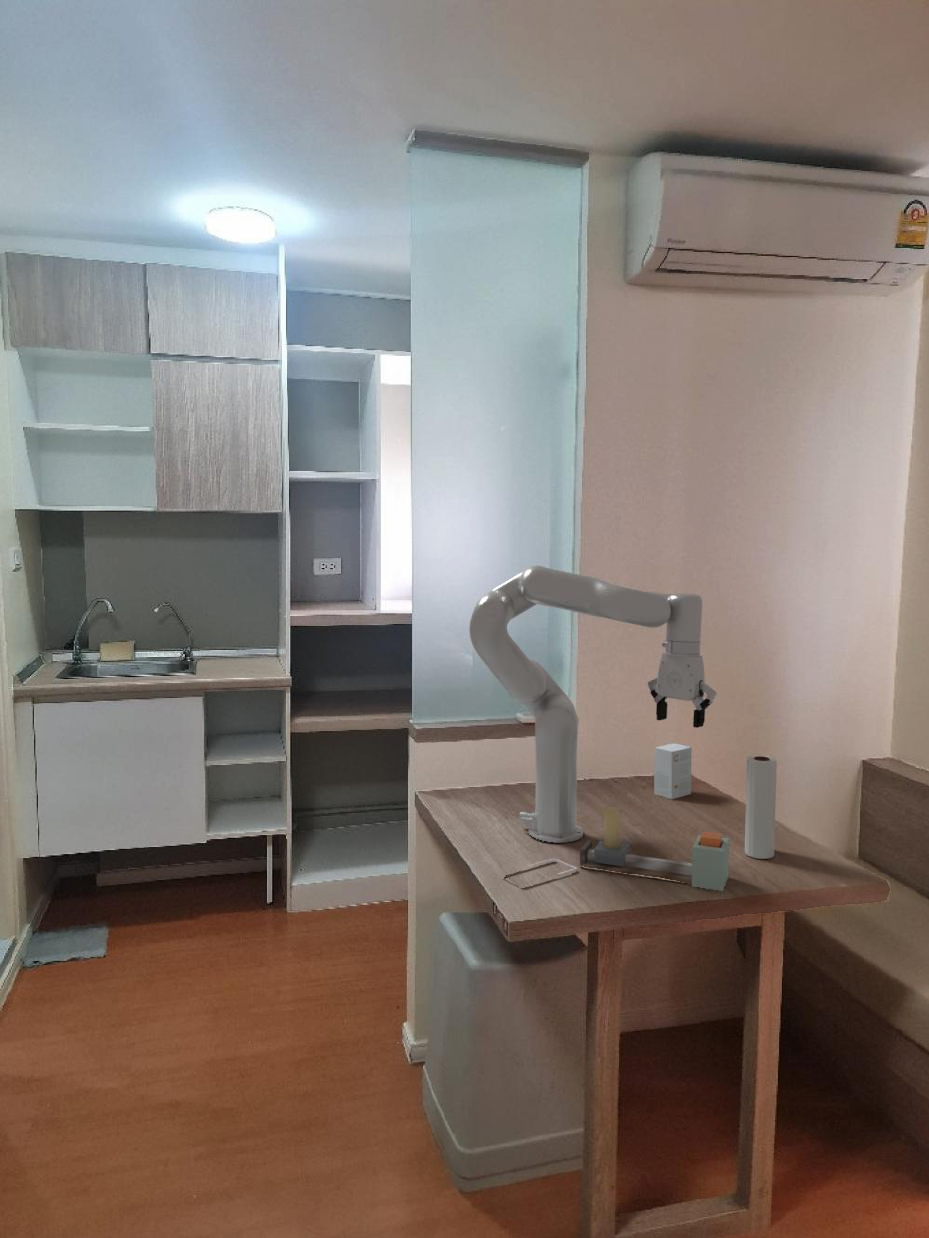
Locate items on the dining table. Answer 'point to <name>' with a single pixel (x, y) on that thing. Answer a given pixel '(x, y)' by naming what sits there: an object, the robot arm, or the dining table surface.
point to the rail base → (640, 865)
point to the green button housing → (710, 865)
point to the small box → (672, 770)
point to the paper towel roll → (760, 806)
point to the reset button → (711, 839)
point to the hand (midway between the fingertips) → (679, 723)
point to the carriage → (611, 840)
